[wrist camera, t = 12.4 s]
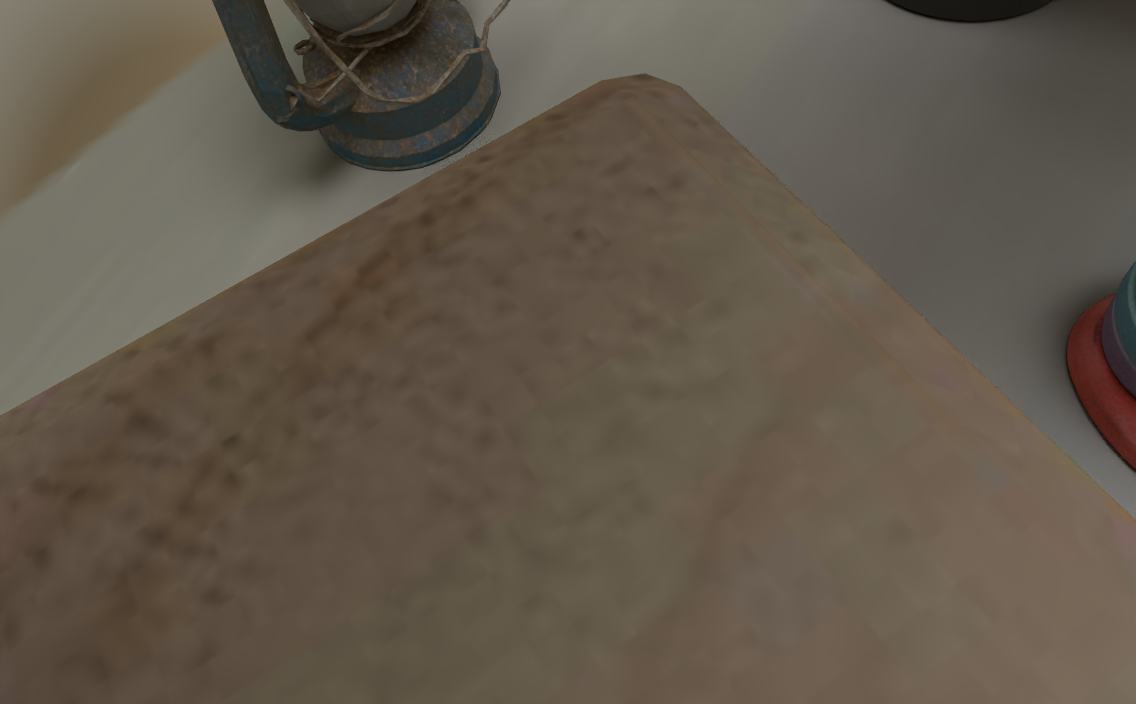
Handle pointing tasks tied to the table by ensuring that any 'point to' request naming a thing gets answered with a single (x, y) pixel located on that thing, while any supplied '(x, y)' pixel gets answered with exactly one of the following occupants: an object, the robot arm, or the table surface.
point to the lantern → (372, 75)
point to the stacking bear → (1109, 365)
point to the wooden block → (558, 465)
